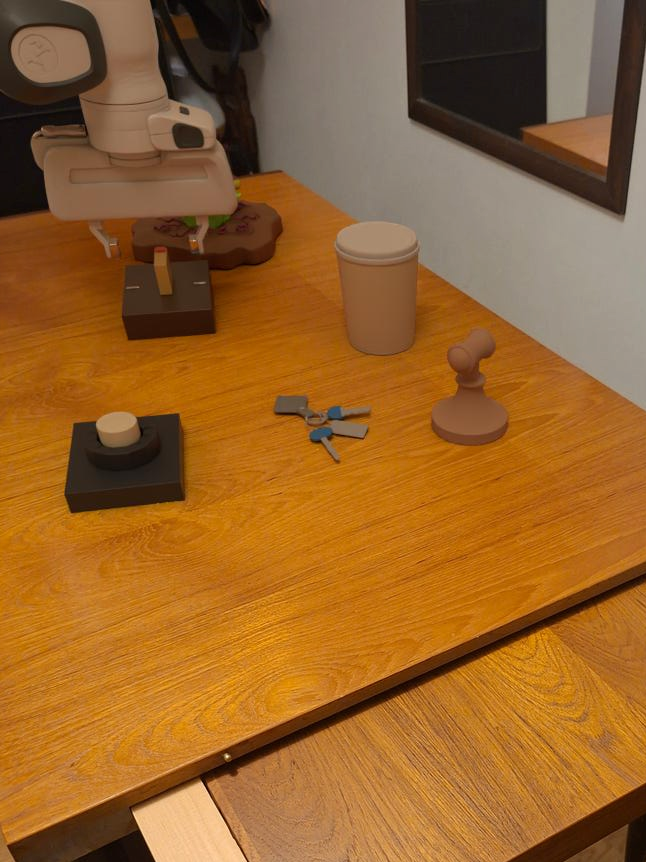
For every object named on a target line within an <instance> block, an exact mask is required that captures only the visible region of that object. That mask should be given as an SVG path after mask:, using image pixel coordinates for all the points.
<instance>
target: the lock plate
mask: <svg viewBox="0 0 646 862" xmlns="http://www.w3.org/2000/svg"><path fill="white" fill-rule="evenodd" d="M170 266H171V271H172V275H173V294H169V295H160V290H159V286H158V282H157V277H156V273H155V268H154V263H141V264H139V263H138V264H126V265H125V266H124V279H123V293H122V305H121V319H122V323H123V327H124V331H125V334H126V338H127V341H132V340H134V341H135V340H146V339H159V338H170V337H171V338H172V337H184V336H199V335H208V334H209V335H211V334H216V333H217V330H216V329H217V328H216V317H215V315H216V314H215V303H214V292H213V291H214V290H213V281H212V275H211V271H210V269H209V264H208V260H202V261H187V262H171V263H170Z"/></svg>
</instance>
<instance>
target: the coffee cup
mask: <svg viewBox="0 0 646 862" xmlns="http://www.w3.org/2000/svg"><path fill="white" fill-rule="evenodd" d="M333 245H334V251H335V253H336V260H337V267H338V268H337V269H338V276H339V281H340V289H341V295H342V302H343V311H344V315H345V323H346V330H347V335H348V341H349V344H350V345H351V346H352V348H353V349H355V350H357V351H358V352H361V353H364V354H368V355H374V356H391V355H394V354H400V353H402V352H404V351H406V350H408V349H410V347H412V345H413V344H414V341H415V335H416V333H415V331H416V318H417V317H416V314H417V297H418V296H417V294H418V274H419V273H418V272H419V252H420V247H421V243H420V240H419V238H418V236H417V233H416V232H415V231H414V230H413V229H411V228H410V227H408V226H405V225H403V224H400V223H395V222H390V221H389V222H388V221H376V220H375V221H374V220H373V221H364V222H358V223H357V222H356V223H353V224H350V225H348V226H345V227H344V228H342V229H340V230H339V231H338V233H337V235H336V238H335V240H334V243H333Z"/></svg>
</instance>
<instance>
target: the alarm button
mask: <svg viewBox="0 0 646 862" xmlns="http://www.w3.org/2000/svg"><path fill="white" fill-rule="evenodd" d="M136 417H137V416H136ZM136 417H135V414H133V413H131V412H128V411H113V412H109V413H106V414H104V415H102V416H100V417H99V418H98V419H97V420H96V421H97V422H96V428H97V431H98V434H99V437H100V440H101V443H102V444H103V445H104V446H107V447H112V448H114V447H124V446H128V445H130V444H133V443H135V442H137V441H138V440H139V439H140V437H141V433H140V429H139V425H138V422H137V418H136Z"/></svg>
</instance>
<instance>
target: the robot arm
mask: <svg viewBox="0 0 646 862" xmlns="http://www.w3.org/2000/svg"><path fill="white" fill-rule="evenodd" d="M152 8H153V7H152V4H151V0H0V92H2V93H3V94H4V95H6V96H7V97H8V98H9V97H10V98H12V99H13V100H15V101H18V102H20V103H23V104H28V105H31V106H33V105H34V106H42V105H43V106H44V105H49V104H53V103H57V102H61V101H63V100H64V101H65V100H67V99H70V98H73V97H77V96H78V97H79V98H78V99H79V103H80V107H81V111H82V115H83V119H84V123H85V124H68V125H60V126H59V125H57V126H55V125H44V126H41V128H40V129H39V130H37V131H35V132H34V133H33V134H32V135H31V138H30V149H31V151H32V155H33V159H34V162H35V163H36V165H37V166H38V168H39V169H40V170H42V171H43V178H44V187H45V193H46V198H47V199H46V200H47V203H48V208H49V212H50V214H52V215H53V216H54V217H55V218H56V219H57V220H58V221H60V222H64V223H65V222H66V223H67V222H86V221H87V225H88V228H89V231H90V232H91V234H93V236H94V237H95V238H96V239H97V240H98V241H99V243H100V244H102V245H103V247H104V250H105V255H106V258H107V259H108V260H113V259H121V258H122V251H121V247H120V243H119V239H118V237H110V236H109V234H108V233H107V232H106V231H105V230H104V228H103V226H104V221H113V220H114V221H115V220H138V219H140V218H164V217H188V216H195V217H196V223H197V225H199V227H198V229H197V232H196V234H193V235H189V242H190V247H191V253H192V255H194V254H204V246H203V239H204V236H205V234H206V232H207V229H208V227H209V218H208V216H212V215H231V214H233V213H234V211H235V210H236V208H237V206H238V203H237V200H238V199H237V196H236V193H237V190H236V189H235V186H234V181H233V177H232V174H233V173H232V169H231V166H230V162H229V159H228V156H227V153H226V151H225V149H224V147H223V145H222V143H221V142H220V141H219V140H218V139H217V130H216V124H215V121H214V119H213V116H212V115H211V113H210V112H208V111H207V110H204V109H201V108H199V107H195V106H192V105H189V104H186V103H182V102H179V101H176V100H174V99H170V98H169V94H168V89H167V85H166V83H165V80H164V78H163V76H162V73H161V69H160V66H159V47H160V46H159V37H158V32H157V28H156V22H155V17H154V13H153V9H152ZM41 135H42V136H41Z"/></svg>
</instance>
